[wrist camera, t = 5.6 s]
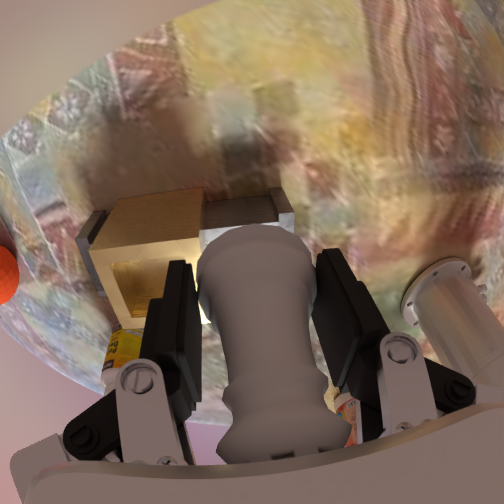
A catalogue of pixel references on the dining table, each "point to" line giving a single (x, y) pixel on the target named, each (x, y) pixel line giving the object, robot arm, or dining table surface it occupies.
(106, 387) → the supplement bottle
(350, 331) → the robot arm
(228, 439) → the rook chess piece
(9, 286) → the clementine
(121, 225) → the valve body
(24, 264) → the dining table surface
